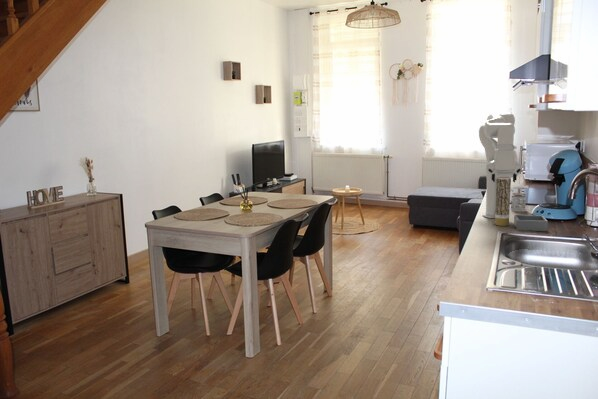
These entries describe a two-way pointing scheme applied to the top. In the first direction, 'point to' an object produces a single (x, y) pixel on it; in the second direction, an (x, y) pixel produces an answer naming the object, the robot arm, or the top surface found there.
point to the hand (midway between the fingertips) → (503, 181)
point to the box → (530, 222)
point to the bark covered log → (502, 201)
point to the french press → (516, 197)
